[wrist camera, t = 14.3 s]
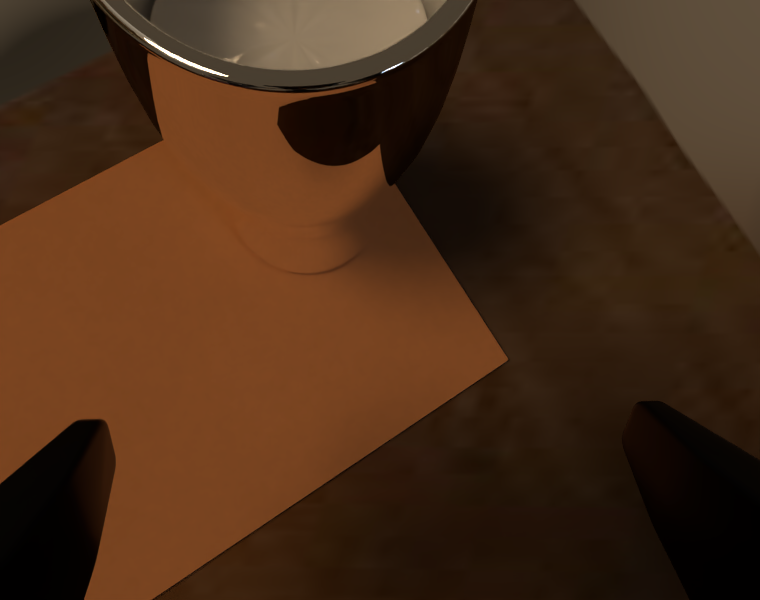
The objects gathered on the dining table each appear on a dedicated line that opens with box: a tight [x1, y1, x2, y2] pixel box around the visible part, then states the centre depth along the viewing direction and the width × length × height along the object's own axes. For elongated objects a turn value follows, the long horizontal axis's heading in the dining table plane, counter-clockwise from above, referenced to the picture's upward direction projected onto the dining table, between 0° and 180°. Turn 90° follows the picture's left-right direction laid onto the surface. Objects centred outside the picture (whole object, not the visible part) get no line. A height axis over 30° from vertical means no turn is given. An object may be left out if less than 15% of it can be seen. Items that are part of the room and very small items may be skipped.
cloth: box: [0, 140, 508, 600], centre depth 22 cm, size 20×15×1 cm
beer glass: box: [90, 0, 477, 274], centre depth 16 cm, size 7×7×15 cm
